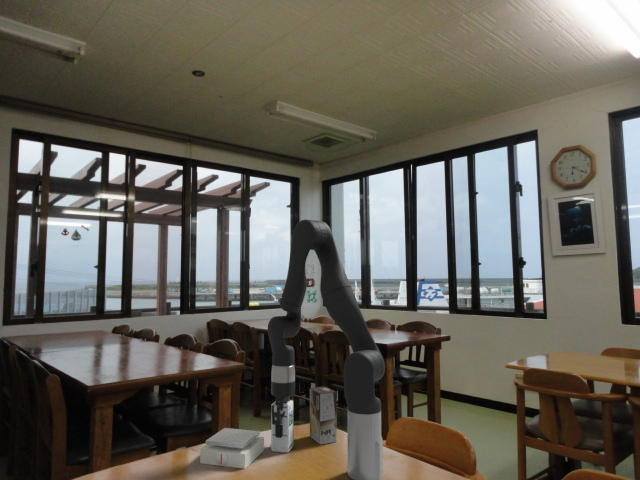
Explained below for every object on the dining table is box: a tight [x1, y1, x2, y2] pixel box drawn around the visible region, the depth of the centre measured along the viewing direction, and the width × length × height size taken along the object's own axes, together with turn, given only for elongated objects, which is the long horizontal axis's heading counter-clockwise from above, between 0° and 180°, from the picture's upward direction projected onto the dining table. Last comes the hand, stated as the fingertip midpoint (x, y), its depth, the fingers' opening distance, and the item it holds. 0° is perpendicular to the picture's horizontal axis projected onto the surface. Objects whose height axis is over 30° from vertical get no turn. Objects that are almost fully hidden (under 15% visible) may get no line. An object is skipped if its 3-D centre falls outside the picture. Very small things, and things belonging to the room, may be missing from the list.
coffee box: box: [309, 386, 338, 445], centre depth 151 cm, size 9×6×16 cm
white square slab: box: [199, 436, 265, 470], centre depth 134 cm, size 14×15×4 cm
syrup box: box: [270, 399, 295, 454], centre depth 142 cm, size 6×6×14 cm
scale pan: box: [205, 427, 261, 448], centre depth 135 cm, size 12×12×1 cm
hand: (282, 433), depth 141 cm, fingers closed on syrup box, 6 cm apart
